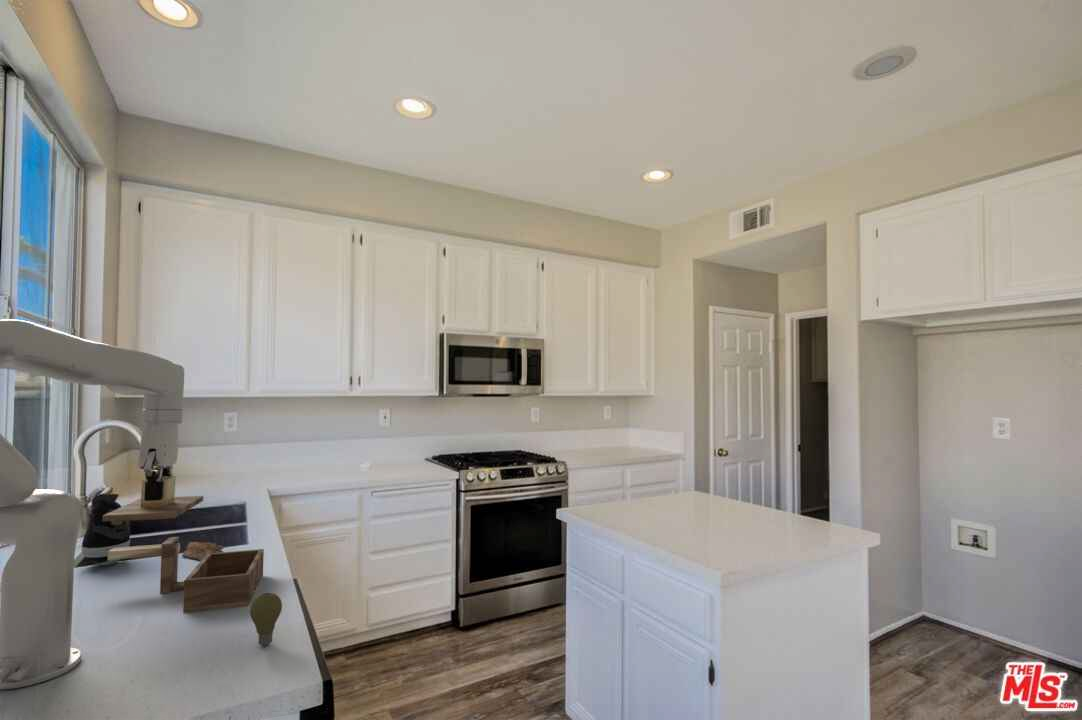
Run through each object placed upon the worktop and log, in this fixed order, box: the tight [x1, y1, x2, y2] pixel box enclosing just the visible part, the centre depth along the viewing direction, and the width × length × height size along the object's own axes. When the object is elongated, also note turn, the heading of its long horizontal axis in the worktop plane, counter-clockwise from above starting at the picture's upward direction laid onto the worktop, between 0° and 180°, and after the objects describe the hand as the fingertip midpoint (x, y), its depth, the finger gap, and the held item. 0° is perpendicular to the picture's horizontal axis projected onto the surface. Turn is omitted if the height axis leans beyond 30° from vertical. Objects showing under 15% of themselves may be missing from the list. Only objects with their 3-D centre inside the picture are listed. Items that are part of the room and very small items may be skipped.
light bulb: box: [249, 592, 283, 647], centre depth 107 cm, size 6×6×10 cm
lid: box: [102, 475, 204, 522], centre depth 125 cm, size 20×13×8 cm, turn 17°
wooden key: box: [108, 542, 181, 560], centre depth 134 cm, size 3×14×2 cm, turn 109°
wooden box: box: [159, 536, 265, 614], centre depth 132 cm, size 20×22×12 cm
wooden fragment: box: [181, 541, 224, 561], centre depth 164 cm, size 26×11×1 cm, turn 40°
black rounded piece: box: [80, 492, 131, 566], centre depth 152 cm, size 11×11×20 cm
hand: (158, 497), depth 124 cm, fingers closed on lid, 5 cm apart
